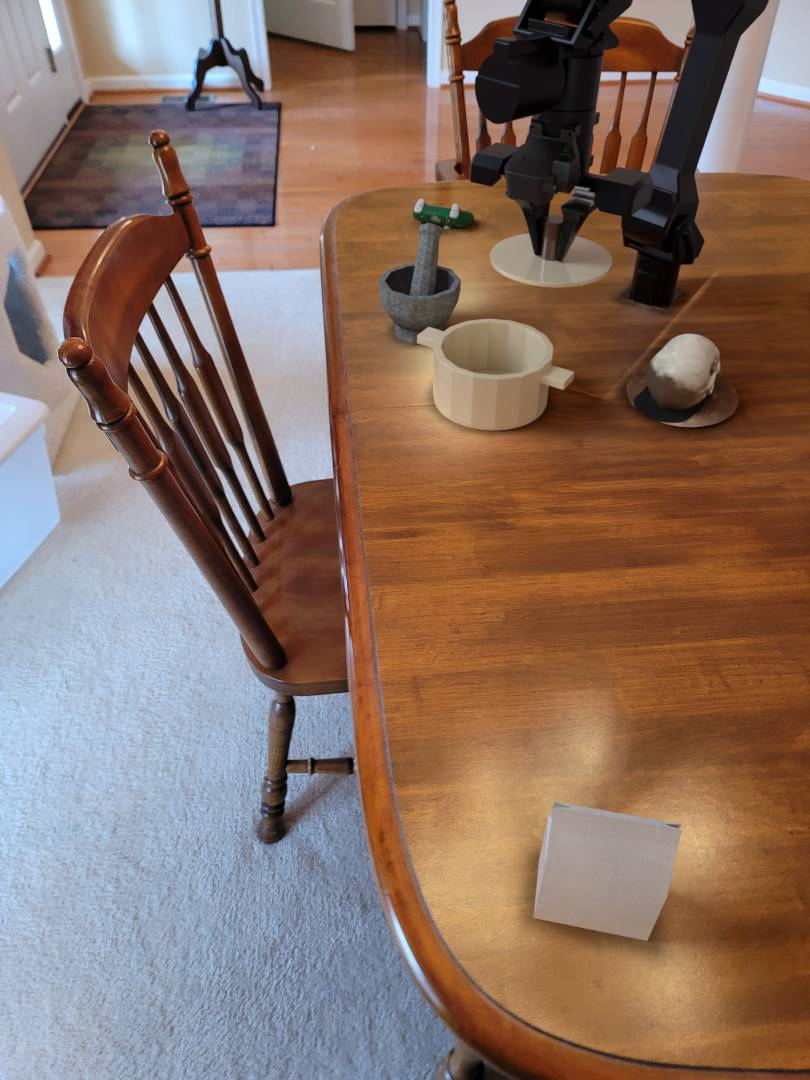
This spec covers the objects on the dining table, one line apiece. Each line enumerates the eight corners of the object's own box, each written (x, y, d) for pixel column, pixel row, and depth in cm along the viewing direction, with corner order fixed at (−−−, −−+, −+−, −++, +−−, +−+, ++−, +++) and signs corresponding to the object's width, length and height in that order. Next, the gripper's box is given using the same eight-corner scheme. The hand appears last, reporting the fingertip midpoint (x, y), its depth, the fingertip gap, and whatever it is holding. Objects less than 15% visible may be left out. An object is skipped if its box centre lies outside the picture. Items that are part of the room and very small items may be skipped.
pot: (450, 351, 101) (452, 302, 97) (587, 396, 93) (596, 345, 89) (392, 400, 93) (390, 349, 89) (536, 452, 86) (542, 399, 81)
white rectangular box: (647, 940, 50) (683, 860, 43) (533, 918, 51) (551, 836, 44) (646, 881, 52) (680, 797, 46) (538, 861, 53) (556, 776, 47)
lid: (489, 239, 99) (492, 194, 96) (605, 243, 99) (612, 197, 95) (488, 290, 89) (492, 242, 86) (617, 295, 88) (625, 246, 85)
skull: (655, 346, 99) (726, 304, 91) (699, 421, 100) (773, 386, 91) (599, 383, 93) (669, 342, 84) (646, 462, 93) (720, 430, 85)
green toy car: (415, 232, 132) (404, 215, 126) (421, 209, 132) (411, 191, 126) (470, 240, 129) (462, 224, 124) (476, 217, 129) (468, 199, 124)
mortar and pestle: (446, 356, 100) (449, 260, 92) (372, 346, 102) (368, 251, 94) (467, 313, 108) (471, 221, 100) (398, 305, 110) (396, 214, 102)
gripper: (444, 108, 81) (439, 262, 92) (623, 142, 74) (596, 306, 84) (500, 83, 88) (489, 229, 99) (669, 112, 80) (638, 267, 91)
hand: (549, 257), depth 93 cm, fingers closed on lid, 2 cm apart
